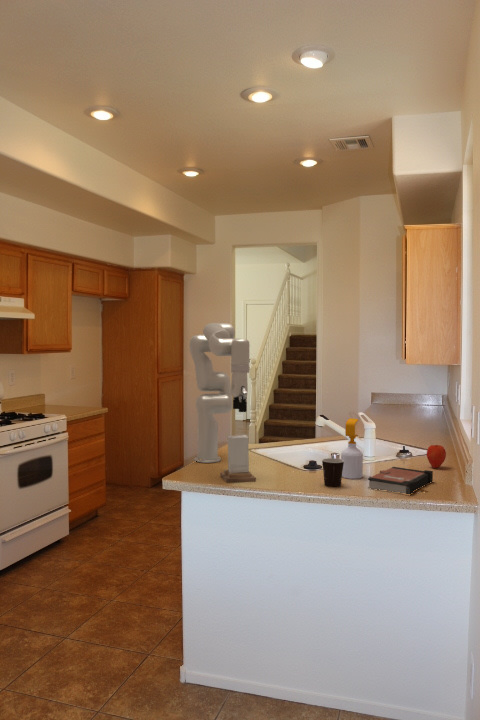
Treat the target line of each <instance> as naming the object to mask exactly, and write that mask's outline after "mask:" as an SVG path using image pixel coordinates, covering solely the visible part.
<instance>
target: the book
mask: <svg viewBox="0 0 480 720" xmlns="http://www.w3.org/2000/svg"><path fill="white" fill-rule="evenodd" d="M433 473H434V472H433V470H427V469H425V470H419V469H418V470H417V469H410V468H407V467H406V468H405V467H397V466H392V467H390V468H387V469H386V470H380V471H379V473H377V474H374V475H372V476H369V477H368V478H367V480H368V481H369V482H368V484H369V486H368V487H367V489H368V488H371V489H370V490H374V489H377V490H376V491H379V489H380V490H387V491H393V492H400V493H406V494H411V493H414V492H413V491H414V490H416V489H418V488H420V487H422V486H423V487H425V486H426V485H425V484H427V483H430V482H432V481H433V478H434V476H433V475H434V474H433ZM432 483H433V482H432ZM430 484H431V483H430ZM424 485H425V486H424ZM427 485H428V484H427ZM423 487H422V488H423ZM420 489H421V488H420ZM418 490H419V489H418ZM411 495H412V494H411Z"/></svg>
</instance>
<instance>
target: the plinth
mask: <svg viewBox="0 0 480 720" xmlns="http://www.w3.org/2000/svg"><path fill="white" fill-rule="evenodd" d="M220 477H221V478H222V479H223V480H224V481H225V482H226V483H227V484H228V483H232V484H234V483H248V482H252V483H253V482H256V481H257V477H255V475H254V474H252V472H251V471H249V472H242V473H230V472H229V470H228V469H224V472H223V471H222V472H220Z"/></svg>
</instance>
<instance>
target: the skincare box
mask: <svg viewBox="0 0 480 720" xmlns="http://www.w3.org/2000/svg"><path fill="white" fill-rule="evenodd" d="M249 459H250V458H249V436H248V435H247V434H238V435H227V467H228V468H227V470H229V472H230V473H242V472H250V470H249V469H250V464H249V463H250V461H249Z"/></svg>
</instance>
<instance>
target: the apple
mask: <svg viewBox="0 0 480 720" xmlns="http://www.w3.org/2000/svg"><path fill="white" fill-rule="evenodd" d="M446 457H447V452H446V449H445V447H444V446H442V445H440V444H435V445H434V444H431V445H429V447H427V450H426V458H427V461H428V463H429V464H430V466H431V467H432V469H439V468H440V467H441V466H442V465H443V463H444V462H445V460H446Z"/></svg>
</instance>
